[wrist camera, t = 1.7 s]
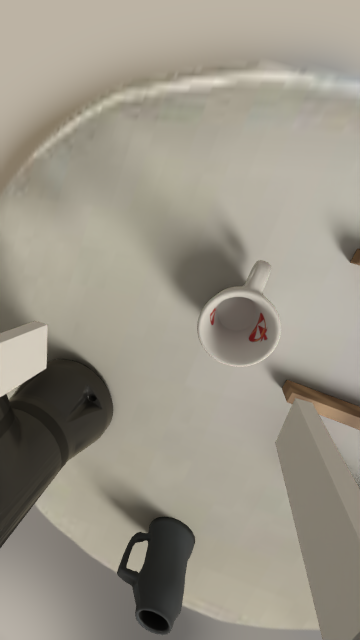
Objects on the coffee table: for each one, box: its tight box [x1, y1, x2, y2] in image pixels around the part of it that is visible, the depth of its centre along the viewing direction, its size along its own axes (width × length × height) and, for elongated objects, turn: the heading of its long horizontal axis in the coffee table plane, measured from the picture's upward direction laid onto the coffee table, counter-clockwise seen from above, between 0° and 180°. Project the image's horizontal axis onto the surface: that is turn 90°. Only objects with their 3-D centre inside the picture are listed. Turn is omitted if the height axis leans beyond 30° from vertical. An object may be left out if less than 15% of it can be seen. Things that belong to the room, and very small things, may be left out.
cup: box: [197, 260, 281, 367], centre depth 25 cm, size 11×8×8 cm
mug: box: [117, 517, 195, 635], centre depth 39 cm, size 12×9×11 cm
